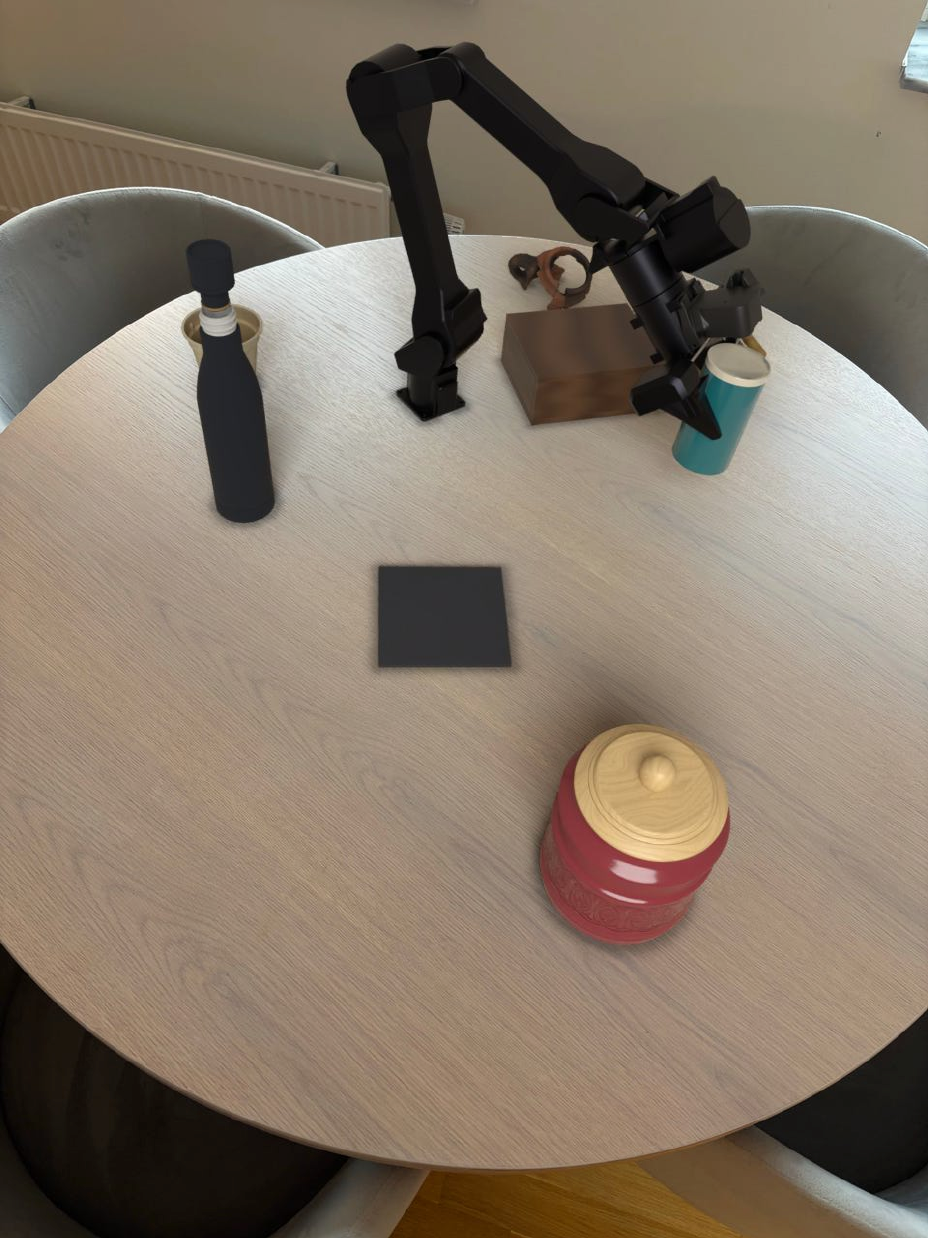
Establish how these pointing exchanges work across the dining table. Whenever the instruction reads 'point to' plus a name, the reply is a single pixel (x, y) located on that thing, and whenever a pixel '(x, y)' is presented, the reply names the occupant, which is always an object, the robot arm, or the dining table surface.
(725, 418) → the tumbler
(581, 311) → the cabinet
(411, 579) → the coaster
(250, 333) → the flower pot
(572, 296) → the brown ring sculpture
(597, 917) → the kitchen canister
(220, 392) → the black water bottle
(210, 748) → the dining table surface
